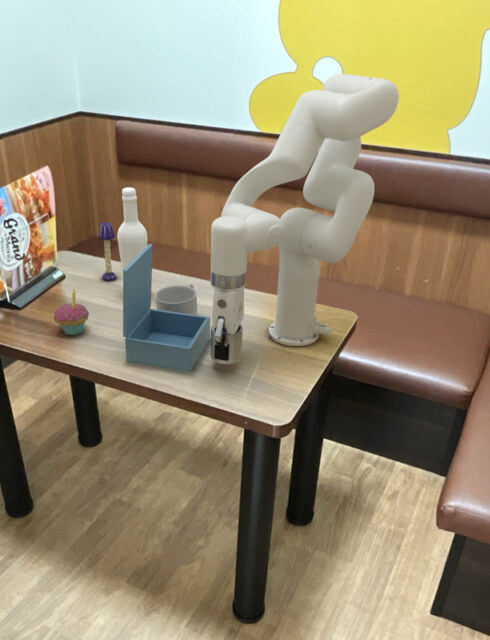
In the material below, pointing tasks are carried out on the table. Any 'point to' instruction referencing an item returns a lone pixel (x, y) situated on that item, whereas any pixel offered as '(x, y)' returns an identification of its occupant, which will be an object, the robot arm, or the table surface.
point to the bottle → (130, 230)
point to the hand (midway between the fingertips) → (226, 350)
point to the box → (168, 339)
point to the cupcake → (71, 317)
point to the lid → (137, 289)
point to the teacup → (177, 299)
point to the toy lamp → (107, 249)
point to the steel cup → (234, 346)
